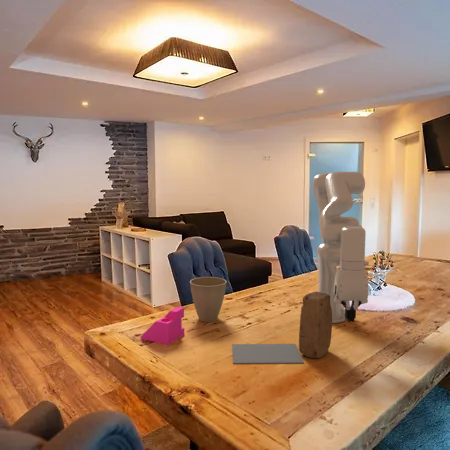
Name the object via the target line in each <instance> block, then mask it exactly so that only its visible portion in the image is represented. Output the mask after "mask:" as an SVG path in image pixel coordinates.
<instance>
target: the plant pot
mask: <svg viewBox="0 0 450 450" xmlns="http://www.w3.org/2000/svg"><path fill="white" fill-rule="evenodd" d="M189 284H190V292H191V296H192V302H193V305H194V306H193V307H194V309H195V311H196V314H197V317H198V319H199V321H201V322H206V323H211V322H215V321H217V319H218V317H219V316H220V312H221V309H222V306H223V303H224V302H223V301H224V298H225V295H226V289H227V280H226V279H224V278H221V277H218V276H217V277H216V276H215V277H214V276H201V277H200V276H199V277H196V278H192V279H191V280H189Z"/></svg>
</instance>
